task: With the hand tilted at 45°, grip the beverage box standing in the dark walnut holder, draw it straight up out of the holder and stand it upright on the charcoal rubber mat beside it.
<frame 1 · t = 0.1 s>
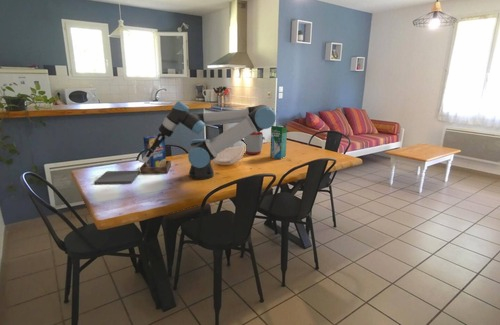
hand: (147, 158, 165), 15 cm above the table, tool tilted 35°, fingers open, 13 cm apart
walnut holder: (156, 169, 195), on the table
beverage box: (156, 170, 195), resting in walnut holder
milk carton: (278, 157, 231), on the table
citrus juicer: (254, 153, 243), on the table
charcoal mat: (118, 178, 177), on the table
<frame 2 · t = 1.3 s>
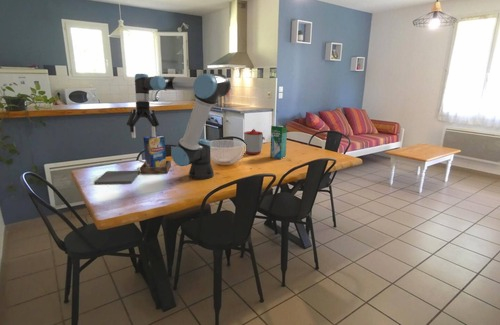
hand: (144, 137, 177), 24 cm above the table, tool pointing down, fingers open, 13 cm apart
nothing on the table moved.
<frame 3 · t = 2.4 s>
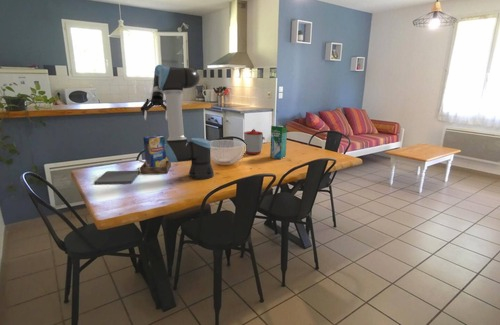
hand: (155, 119, 196), 32 cm above the table, tool tilted 45°, fingers open, 13 cm apart
nothing on the table moved.
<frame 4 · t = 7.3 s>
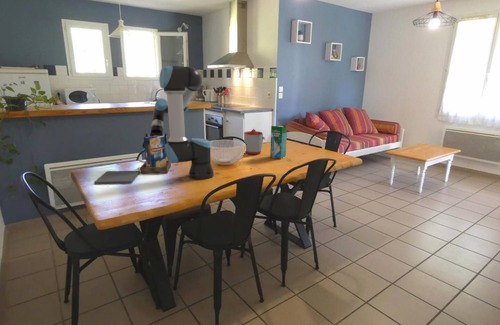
hand: (154, 156, 189), 10 cm above the table, tool tilted 45°, fingers closed on beverage box, 8 cm apart
beverage box: (156, 170, 195), resting in walnut holder, touching gripper
everything else where it was.
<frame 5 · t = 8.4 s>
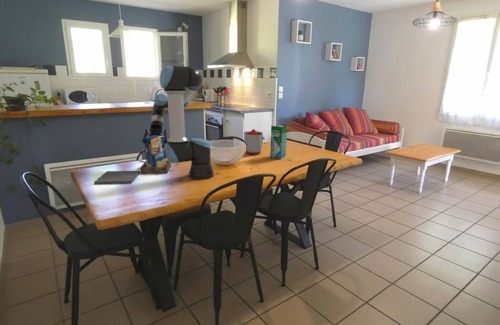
hand: (153, 152, 188), 13 cm above the table, tool tilted 45°, fingers open, 8 cm apart
beverage box: (157, 170, 195), resting in walnut holder, touching gripper
everything else where it was.
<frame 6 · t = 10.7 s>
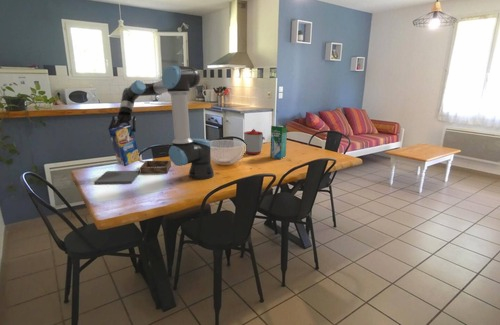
hand: (120, 140, 173), 22 cm above the table, tool tilted 45°, fingers closed on beverage box, 8 cm apart
beverage box: (129, 162, 182), point 8 cm above the table, touching gripper
everything else where it was.
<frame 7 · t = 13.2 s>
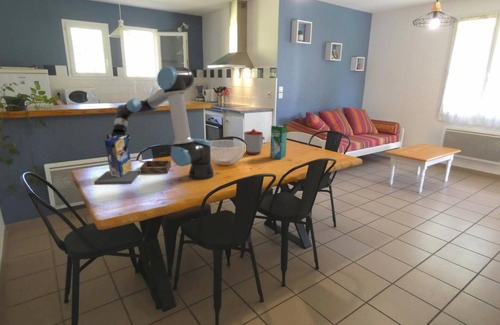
hand: (114, 160, 170), 12 cm above the table, tool tilted 45°, fingers closed on beverage box, 4 cm apart
beverage box: (121, 172, 181), point 2 cm above the table, touching gripper
everything else where it was.
when the fingers open (12 cm above the table, at t = 13.2 s): beverage box stays where it is, resting on charcoal mat.
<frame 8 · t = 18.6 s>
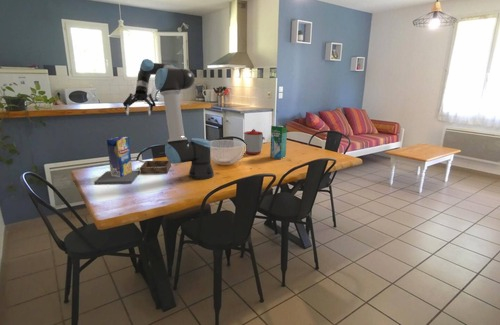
hand: (138, 114, 189), 36 cm above the table, tool tilted 45°, fingers open, 13 cm apart
beverage box: (121, 174, 181), point 1 cm above the table, touching charcoal mat
everything else where it was.
at the end: beverage box inside the target area on the charcoal mat (4.1 cm from its centre), point 1.3 cm above the charcoal mat's base; beverage box tilted 0°; the gripper is holding nothing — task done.
